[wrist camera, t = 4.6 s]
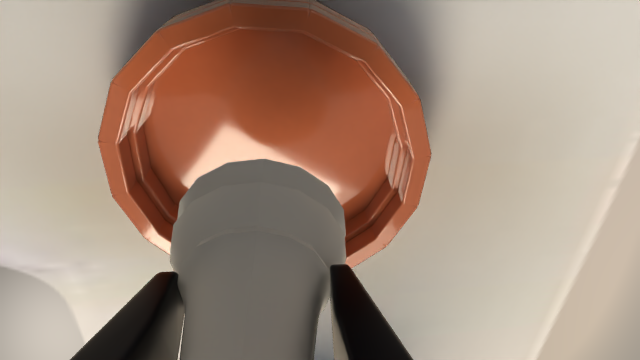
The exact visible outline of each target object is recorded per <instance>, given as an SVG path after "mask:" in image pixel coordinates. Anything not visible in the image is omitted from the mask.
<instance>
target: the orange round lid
mask: <svg viewBox="0 0 640 360" xmlns="http://www.w3.org/2000/svg"><path fill="white" fill-rule="evenodd" d="M98 144H99V148H100V151H101V155H102V159H103V163H104V167H105V171H106V175H107V179H108V182H109V186H110V190H111V194H112V197H113V198H114V199H115V201H116V202H117V203H118V204H119V206H120V207H121V208H122V210H123V211H124V212H125V213H126V215H127V216H128V217H129V219H130V220H131V221H132V223H133V224H134V225H135V226H136V228H137V229H138V230H139V232H140V233H141V234H142V236H143V237H144V238H145V239H147V240H148V241H149V242H151V243H152V244H154V245H155V246H157V247H158V248H160V249H161V250H163V251H164V252H166V253H168V254H169V255H170V247H171V239H172V232H173V225H174V223H175V222H176V221H177V218H178V210H179V203H180V200H181V199H182V197H183V196H184V195H185V194H186V192H187V191H188V190H189V188H190V187H191V186H192V185H193V183H194V182H195V181H196V179H197V178H198V177H200V176H202V175H204V174H206V173H208V172H210V171H212V170H214V169H216V168H218V167H220V166H222V165H224V164H226V163H228V162H237V161H246V160H256V159H268V160H273V161H277V162H281V163H286V164H290V165H294V166H298V167H301V168H303V169H304V170H306V171H307V172H309V173H310V174H312V175H313V176H315V177H316V178H318V179H319V180H321V181H322V182H324V183H325V184H327V185H328V186H329V187H330V189H331V191H332V192H333V194H334V195H335V197H336V198H337V200H338V201H339V203H340V204H341V206H342V208H343V209H344V218H345V230H346V236H345V248H346V261H345V264H347V265H349V266H350V268H353V267H354V266H356V265H358V264H359V263H361V262H363V261H364V260H366V259H367V258H369V257H371V256H372V255H374V254H375V253H377V252H379V251H380V250H382V249H384V248H385V247H386V245H388V244H389V243H390V242H391V240H392V239H393V238H394V237H395V235H396V234H397V233H398V231H399V230H400V229H401V228H402V226H403V225H404V224H405V222H406V221H407V220H408V219H409V217H410V216H411V215H412V214H413V212H414V211H415V210H416V208H417V206H418V205H419V201H420V197H421V193H422V189H423V185H424V181H425V178H426V174H427V170H428V166H429V162H430V158H431V149H430V144H429V139H428V134H427V130H426V125H425V120H424V115H423V110H422V105H421V100H420V98H419V96H418V94H417V92H416V91H415V89H414V88H413V86H412V85H411V83H410V81H409V80H408V78H407V77H406V76H405V74H404V73H403V72H402V70H401V69H400V68H399V66H398V65H397V64H396V63H395V61H394V60H393V59H392V57H391V56H390V55H389V53H388V52H387V51H386V49H385V48H384V47H383V46H382V44H381V43H380V42H379V40H378V39H377V38H376V36H375V35H374V34H373V33H372V32H370V30H369V29H367V28H366V27H364V26H362V25H360V24H358V23H356V22H354V21H352V20H351V19H349V18H347V17H345V16H343V15H341V14H339V13H337V12H336V11H334V10H332V9H330V8H328V7H326V6H324V5H322V4H321V3H319V2H317V1H315V0H215V1H213V2H210V3H207V4H205V5H202V6H200V7H197V8H194V9H192V10H189V11H186V12H184V13H181V14H178V15H176V16H174V17H173V18H171V19H170V20H168V21H167V22H166V23H165V24H164V25H162V26H161V27H160V28H159V29H158V30H156V31H155V32H154V33H153V34H152V36H151V37H150V38H149V39H148V40H147V41H146V42H145V43H144V44H143V45H142V47H141V48H140V49H139V50H138V51H137V52H136V53H135V54H134V55H133V57H132V58H131V59H130V60H129V61H128V62H127V63H126V64H125V65H124V66H123V68H122V69H121V70H120V71H119V72H118V73H117V74H116V75H115V76H114V78H113V80H112V82H111V83H110V88H109V92H108V96H107V101H106V105H105V109H104V114H103V118H102V122H101V127H100V131H99V135H98Z"/></svg>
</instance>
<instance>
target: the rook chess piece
mask: <svg viewBox="0 0 640 360" xmlns="http://www.w3.org/2000/svg"><path fill="white" fill-rule="evenodd" d="M345 236H346V230H345V218H344V209H343V208H342V206H341V204H340V203H339V201H338V200H337V198H336V197H335V195H334V194H333V192H332V191H331V189H330V187H329V186H328V185H327V184H325V183H324V182H322V181H321V180H319V179H318V178H316V177H315V176H313V175H312V174H310V173H309V172H307V171H306V170H304V169H303V168H301V167H298V166H294V165H290V164H286V163H281V162H277V161H273V160H268V159H256V160H246V161H237V162H228V163H226V164H224V165H222V166H220V167H218V168H216V169H214V170H212V171H210V172H208V173H206V174H204V175H202V176H200V177H198V178H197V179H196V181H195V182H194V183H193V185H192V186H191V187H190V188H189V190H188V191H187V192H186V194H185V195H184V196H183V197H182V199H181V200H180V203H179V210H178V218H177V221H176V222H175V223H174V225H173V232H172V239H171V247H170V263H171V265H172V268H173V270H174V272H177V273H178V274H179V276H178V282H177V284H178V289H179V291H180V294H181V297H182V300H183V302H184V310H185V318H184V327H183V335H182V344H181V352H180V360H314V351H315V342H316V334H317V325H318V318H319V315H320V313H321V312H322V311H324V308H325V306H326V304H327V302H328V300H329V298H330V266H331V265H333V264H345V261H346V248H345Z"/></svg>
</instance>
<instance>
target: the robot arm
mask: <svg viewBox="0 0 640 360" xmlns="http://www.w3.org/2000/svg"><path fill="white" fill-rule="evenodd" d="M178 276H179V274H178V273H177V272H160V273H158V274H156V275H155V276H154V277H153V278H152V279H151V280H150V281H149V282H148V283H147V284H146V285H145V286H144V287H143V288H142V289H141V290H140V291H139V292H138V293H137V294H136V295H135V296H134V297H133V298H132V299H131V300H130V301H129V302H128V303H127V304H126V305H125V306H124V307H123V308H122V309H121V310H120V311H119V312H118V313H117V314H116V315H115V316H114V317H113V318H112V319H111V320H110V321H109V322H108V323H107V324H106V325H105V326H104V327H103V328H102V329H101V330H100V331H99V332H98V333H97V334H96V335H95V336H93V337H92V338H91V339H90V340H89V341H88V342H87V343H86V344H85V345H84V346H83V348H81V349H80V350H79V351H78V352H77V353H76V354H75V355H74V356H73V357H72V358H71V359H70V360H177V359H178V352H179V346H180V339H181V333H182V326H183V320H184V313H185V310H184V302H183V300H182V297H181V294H180V291H179V289H178V284H177V282H178ZM330 301H331V317H332V333H333V349H334V360H413V359H412V357H411V356H410V354H409V353H408V351H407V350H406V348H405V347H404V346H403V344H402V343H401V341H400V340H399V338H398V337H397V335H396V334H395V332H394V331H393V329H392V328H391V326H390V325H389V324H388V322H387V321H386V319H385V318H384V316H383V315H382V313H381V312H380V310H379V309H378V307H377V306H376V304H375V303H374V302H373V300H372V299H371V297H370V296H369V294H368V293H367V291H366V290H365V288H364V287H363V285H362V284H361V283H360V281H359V280H358V278H357V277H356V275H355V274H354V272H353V271H352V269H351V268H350V266H349V265H347V264H333V265H331V266H330Z"/></svg>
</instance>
